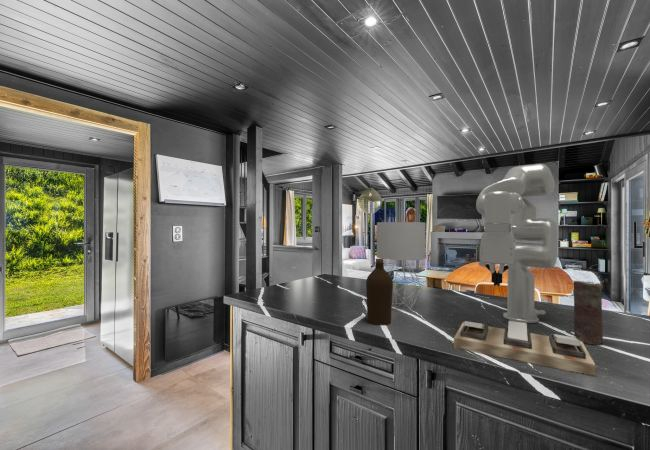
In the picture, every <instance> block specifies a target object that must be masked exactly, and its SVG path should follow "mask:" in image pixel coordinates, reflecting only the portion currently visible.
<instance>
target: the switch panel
mask: <svg viewBox="0 0 650 450" xmlns="http://www.w3.org/2000/svg"><path fill="white" fill-rule="evenodd" d="M466 321H467V322H472V321H470V320H466ZM473 322H474V323H478V322H476V321H473ZM479 323H480V324H485V329H482V328H476V327H470V326H465V321H463V322H462V323H461V325H460V327H459V329H458V331H456V334H455V335H454V337H453V348H455V349H460V350H465V351H470V352H475V353H480V354H483V355H490V356H495V357H500V358H505V359H509V360H512V361H513V360H514V361H517V362H518V361H519V362H523V363H528V364H533V365H539V366H543V367H548V368H553V369H558V370H562V371H568V372H572V371H573V372H572V373H577V372H578V374H582V373H584V374H583V375H587V374H589V375H588V376H592V375H594V376H593V377H596V363H595V362H594V360H593V357H592V356H591V355H590V353H589V351H588V350H587V348H586V346H585V343H583V342H582V341H580V340H579V341H580V346H576V345H570V344H564V343H558V342H556V341H555V340H554V339H553V334H554V333H553V334H552V333H548V335H543V334H539V333H533V332H531V330H528V329H527V340H528V343H526V342H520V341H515V340H509V339H508V327H507V326H505V327H504V328H501V327H495V326H489V324H488V323H483V322H479ZM575 338H576V337H575ZM576 339H578V338H576Z"/></svg>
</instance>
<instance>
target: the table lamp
mask: <svg viewBox="0 0 650 450" xmlns="http://www.w3.org/2000/svg"><path fill="white" fill-rule="evenodd" d="M426 225H427V224H426V222H423V221H422V222H419V221H418V222H417V221H416V222H415V221H401V222H400V221H394V222H393V221H381V222H380V221H379V222H376V259H384V260H393V262H392V263H391V265H390V266H389V268H388V269H387V270H385V271H386V272H387V273H388V274H389V275H390V276H391V273H392V270H393V269H394V267H395V265H396V263H398V264H397V268H396V273H395V274H393V275H392V277H394V276H395V278H394V283H393V293H394V296H393V297H392V309H394V310H400V311H401V310H402V311H404V310H405V311H406V310H411V309H413V307H414V305H415V303H416V302H417V299H418V297H419V295H420V293H421V292H422V286H421V283H420V280H419V278H418V275H417V274H416V272H414V270H413V268H412V267H411V266H410V264H409V263H408V261H424V260H426ZM397 261H398V262H397ZM400 261H401V266H402V273H403V277H402V276H401V275H399V274H398V269H399V264H400ZM403 262H404V263H403ZM404 264H405V266H406V268H407V269H408V272H409V274H410V276H408V277H406V273H405V267H404ZM410 269H411V270H410ZM388 271H389V272H388ZM397 276H399V277H400V278H402V280H401V281H399V282H398V283H396V282H397V281H396V280H397ZM410 277H411V279H412V281H413V283H412V282H410V281H408V279H409V278H410ZM403 281H404V292H403V296H401V295H400V294H399V293H398V291H399V290H401V289H402V288H403V286H401V287H400V288H399V289H397V285H399V284H401V283H402V282H403ZM406 282H408V283H409V284H411V285H412V286H413V289H412V291H411V290H410V288H409V287H408V286H407V284H406ZM417 282H418V283H419V288H418V289H417V288H416V285H417ZM407 289H408V290H409V292H410V293H411V294H410V295H409V296H406V294H407ZM415 295H416V296H415ZM414 297H415V298H414ZM398 298H399V299H400V300H401V303H399V302H397V300H398ZM401 298H402V299H403V300H402V299H401ZM408 299H409V302H408V303H407V301H408ZM413 300H414V301H413ZM394 301H395V303H393V302H394ZM398 304H399V305H398ZM397 305H398V307H400V306H401V305H403V307H402V308H398V307H397ZM405 305H406V306H407V308H406V309H405Z"/></svg>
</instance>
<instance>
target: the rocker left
mask: <svg viewBox="0 0 650 450" xmlns="http://www.w3.org/2000/svg"><path fill="white" fill-rule="evenodd" d="M467 321H468V320H465V321H464V323H465V326H470V327H476V328H482V329H485V324H486V323H483V324H480V323H481V322H477V323H474V322H475V321H471V322H467Z"/></svg>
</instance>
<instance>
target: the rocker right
mask: <svg viewBox="0 0 650 450" xmlns="http://www.w3.org/2000/svg"><path fill="white" fill-rule="evenodd" d="M553 339H554V340H555V341H556V342H558V343H564V344H570V345H576V346H580V340H578V339H576V337H575V336H568V335H562V334H561V335H560V334H557V333H556V334H554V333H553Z"/></svg>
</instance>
